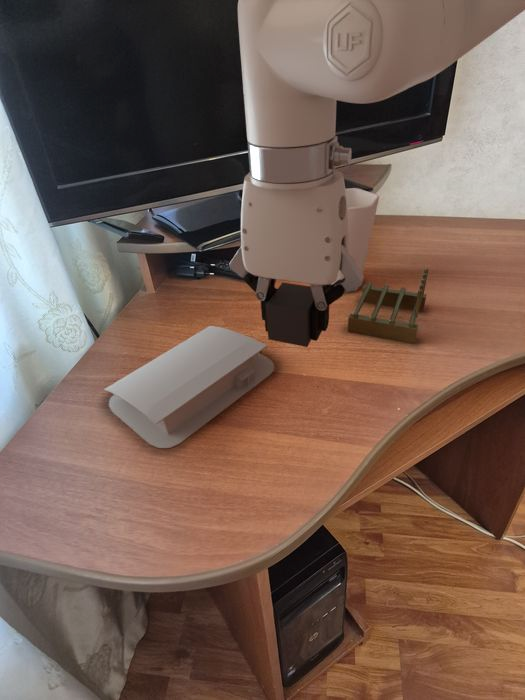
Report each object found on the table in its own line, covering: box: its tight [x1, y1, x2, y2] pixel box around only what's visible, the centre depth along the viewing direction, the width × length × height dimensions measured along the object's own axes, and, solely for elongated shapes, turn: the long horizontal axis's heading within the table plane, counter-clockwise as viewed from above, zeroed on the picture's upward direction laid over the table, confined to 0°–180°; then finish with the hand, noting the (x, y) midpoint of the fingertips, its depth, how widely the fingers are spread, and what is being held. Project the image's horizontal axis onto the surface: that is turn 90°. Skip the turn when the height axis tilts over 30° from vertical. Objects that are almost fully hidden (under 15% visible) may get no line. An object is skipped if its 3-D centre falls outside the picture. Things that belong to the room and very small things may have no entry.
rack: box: [347, 267, 429, 345], centre depth 74 cm, size 11×11×9 cm
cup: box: [332, 187, 380, 292], centre depth 82 cm, size 11×10×17 cm
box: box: [266, 282, 314, 348], centre depth 48 cm, size 5×5×5 cm
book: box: [104, 325, 275, 449], centre depth 65 cm, size 15×23×4 cm, turn 137°
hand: (295, 328), depth 50 cm, fingers closed on box, 4 cm apart
